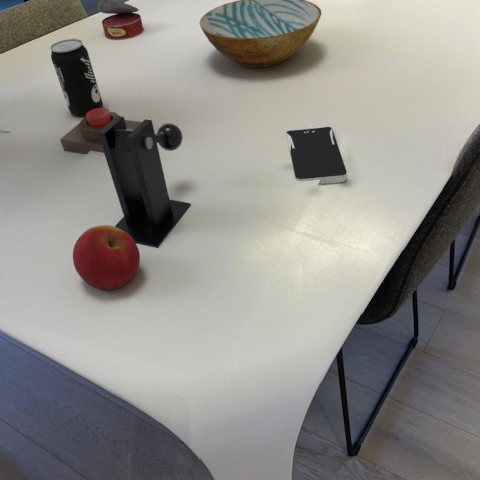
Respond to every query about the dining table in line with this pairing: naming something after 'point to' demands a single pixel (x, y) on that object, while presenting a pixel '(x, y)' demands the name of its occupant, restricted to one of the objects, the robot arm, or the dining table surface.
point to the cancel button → (98, 117)
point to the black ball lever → (165, 137)
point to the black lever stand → (141, 184)
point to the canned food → (120, 20)
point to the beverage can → (76, 76)
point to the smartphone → (316, 155)
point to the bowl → (260, 29)
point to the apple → (106, 257)
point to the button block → (88, 136)
